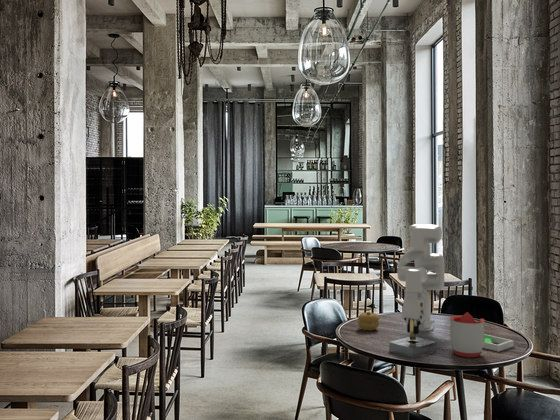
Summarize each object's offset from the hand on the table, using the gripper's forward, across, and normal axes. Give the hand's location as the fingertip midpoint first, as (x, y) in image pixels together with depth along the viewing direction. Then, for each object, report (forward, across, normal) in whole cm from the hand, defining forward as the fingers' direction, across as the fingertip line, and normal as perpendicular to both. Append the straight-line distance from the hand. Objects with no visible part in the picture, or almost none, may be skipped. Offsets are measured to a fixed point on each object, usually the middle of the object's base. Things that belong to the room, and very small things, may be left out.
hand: (412, 332), depth 265 cm
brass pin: (+3, 0, 0) cm, 3 cm away
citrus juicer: (+9, -19, -17) cm, 27 cm away
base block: (+9, 0, 0) cm, 9 cm away
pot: (+9, +41, -14) cm, 44 cm away
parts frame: (+9, -16, -39) cm, 43 cm away
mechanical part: (+9, -14, -40) cm, 43 cm away
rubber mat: (+9, +13, -17) cm, 23 cm away
